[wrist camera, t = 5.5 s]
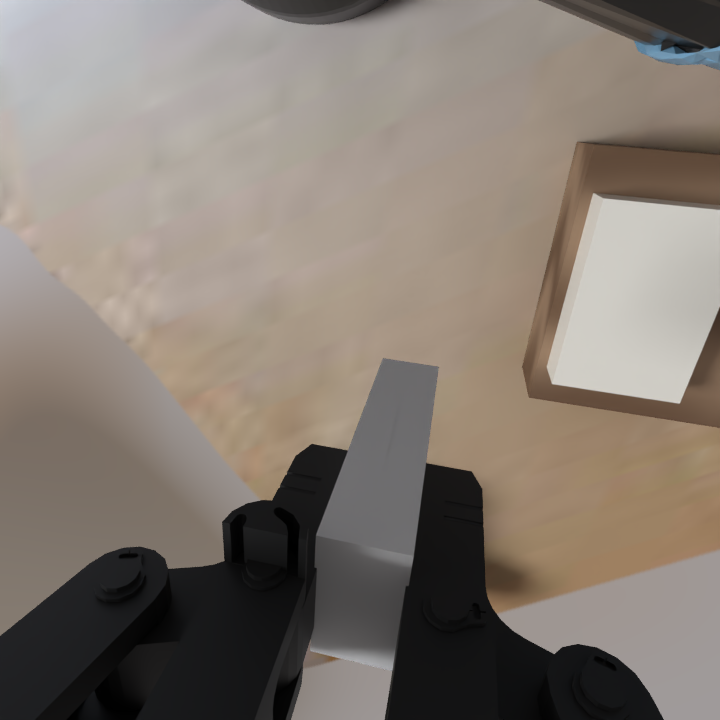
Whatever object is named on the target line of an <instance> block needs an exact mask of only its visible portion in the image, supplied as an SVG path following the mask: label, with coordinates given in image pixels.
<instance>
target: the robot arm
mask: <svg viewBox="0 0 720 720" xmlns="http://www.w3.org/2000/svg"><path fill="white" fill-rule="evenodd" d="M242 1H244V2H245V3H247V4H249V5H251V6H253V7H254V8H256V9H258V10H260V11H262V12H264V13H266V14H268V15H271V16H273V17H276V18H278V19H282V20H285V21H289V22H294V23H301V24H330V23H336V22H341V21H345V20H348V19H352V18H354V17H357V16H360V15H362V14H364V13H367V12H369V11H371V10H373V9H375V8H376V7H378V6H380V5H381V4H383V3H384V2H386V1H387V0H242ZM539 1H542V2H544V3H546V4H549V5H551V6H554V7H556V8H558V9H561V10H563V11H565V12H568V13H570V14H573V15H575V16H577V17H580V18H582V19H584V20H587V21H589V22H591V23H594V24H596V25H599V26H601V27H603V28H606V29H608V30H610V31H613V32H615V33H618V34H620V35H622V36H625V37H627V38H629V39H632V40H634V42H635V44H636V47H637V49H638V51H639V52H641V53H643V54H645V55H648V56H650V57H652V58H654V59H656V60H658V61H660V62H665V63H670V64H676V65H691V64H703V65H706V66H709V67H712V68H715V69H718V70H720V0H539ZM438 368H439V367H437V366H430V365H424V364H417V363H410V362H404V361H397V360H391V359H384V358H383V360H382V362H381V365H380V368H379V370H378V373H377V376H376V378H375V381H374V384H373V386H372V389H371V391H370V394H369V397H368V399H367V402H366V405H365V407H364V410H363V413H362V415H361V418H360V421H359V423H358V426H357V428H356V431H355V434H354V436H353V439H352V442H351V444H350V447H349V450H348V451H347V450H342V449H337V448H331V447H326V446H320V445H315V444H311V445H310V446H309V447H307V448H306V449H304V450H303V451H302V452H300V453H299V454H298V455H296V456H295V458H294V460H293V462H292V464H291V466H290V468H289V470H288V471H287V475H285V477H284V479H283V481H282V483H281V485H280V488H278V490H277V492H276V494H275V496H274V498H273V500H272V501H269V500H261V501H257V502H252V503H247V504H245V505H244V506H241V507H239V508H238V509H236V510H234V511H232V512H231V513H230V514H229V515H228V517H227V518H226V519H225V520H224V521H223V522H222V525H223V540H224V541H223V542H224V559H225V561H224V562H220V563H217V564H215V565H209V566H203V567H192V568H178V569H177V568H176V569H168V568H167V564H166V561H165V559H164V558H163V557H162V556H161V555H160V554H158V553H157V552H156V551H154V550H151V549H147V548H143V547H130V548H122V549H118V550H116V551H112V552H109V553H107V554H104V555H103V556H101V557H100V558H98V559H97V560H95V561H93V562H92V563H90V564H89V565H87V566H86V567H85V568H84V569H82V570H81V571H80V572H79V573H78V574H76V575H75V576H74V577H73V578H71V579H70V580H69V581H68V582H66V583H65V584H64V585H63V586H61V587H60V588H59V589H58V590H57V591H55V592H54V593H53V594H52V595H50V596H49V597H48V598H47V599H45V600H44V601H43V602H42V603H41V604H39V605H38V606H37V607H36V608H35V609H33V610H32V611H31V612H29V613H28V614H27V615H26V616H25V617H23V618H22V619H21V620H19V621H18V622H17V623H16V624H15V625H13V626H12V627H11V628H10V629H8V630H7V631H6V632H5V633H3V634H2V635H1V636H0V720H291V717H292V714H293V711H294V707H295V704H296V700H297V697H298V694H299V690H300V687H301V682H302V673H303V661H304V658H305V655H306V651H307V648H308V645H309V642H310V639H311V648H310V651H313V652H317V653H321V654H325V655H329V656H333V657H337V658H341V659H346V660H350V661H353V662H358V663H362V664H366V665H370V666H374V667H378V668H382V669H386V670H390V671H392V678H391V685H390V691H389V697H388V703H387V709H386V715H385V720H664V719H663V717H662V715H661V714H660V712H659V710H658V708H657V706H656V704H655V702H654V701H653V699H652V697H651V695H650V693H649V692H648V690H647V689H646V688H645V686H644V685H643V684H642V682H641V681H640V679H639V678H638V677H637V675H636V674H635V673H634V672H633V671H632V670H631V669H629V668H628V667H627V666H626V665H625V664H624V663H622V662H621V661H620V660H619V659H618V658H616V657H614V656H612V655H610V654H608V653H607V652H605V651H602V650H600V649H598V648H596V647H590V646H585V645H580V644H576V645H571V646H566V647H562V648H561V649H560V650H559V651H558V652H556V653H555V654H553V653H551V652H549V651H547V650H545V649H543V648H541V647H540V646H538V645H536V644H534V643H532V642H530V641H528V640H526V639H525V638H523V637H522V636H520V635H518V634H517V633H515V632H514V631H512V630H511V629H510V628H509V627H508V626H507V625H506V624H505V623H504V622H503V621H501V619H500V618H499V617H498V615H497V614H496V613H495V611H494V610H493V609H492V606H491V604H490V602H489V600H488V598H487V593H486V587H485V560H484V529H483V511H482V509H483V499H482V488H481V486H480V485H479V483H478V481H477V480H476V478H475V476H474V475H473V473H472V472H471V471H466V470H460V469H455V468H449V467H444V466H438V465H433V464H427V463H426V459H427V451H428V444H429V436H430V429H431V421H432V414H433V406H434V398H435V391H436V383H437V376H438Z"/></svg>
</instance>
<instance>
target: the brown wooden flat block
mask: <svg viewBox="0 0 720 720" xmlns="http://www.w3.org/2000/svg"><path fill="white" fill-rule="evenodd" d="M593 193H600V194H610V195H620V196H630V197H640V198H651V199H661V200H671V201H681V202H691V203H702V204H712V205H720V154H711V153H699V152H688V151H676V150H664V149H652V148H640V147H628V146H616V145H605V144H593V143H581V142H577V144H576V148H575V152H574V156H573V161H572V165H571V169H570V173H569V177H568V181H567V185H566V189H565V193H564V198H563V202H562V206H561V210H560V214H559V218H558V222H557V226H556V230H555V235H554V239H553V243H552V247H551V251H550V255H549V259H548V263H547V267H546V272H545V276H544V280H543V284H542V288H541V292H540V296H539V300H538V304H537V309H536V313H535V317H534V321H533V325H532V329H531V333H530V337H529V341H528V346H527V350H526V354H525V358H524V362H523V366H522V368H523V372H524V377H525V382H526V386H527V391H528V396H529V398H535V399H541V400H548V401H554V402H560V403H567V404H573V405H579V406H586V407H592V408H598V409H604V410H611V411H617V412H623V413H630V414H636V415H642V416H649V417H655V418H661V419H667V420H674V421H680V422H686V423H693V424H699V425H705V426H711V427H718V428H720V308H719V310H718V312H717V315H716V317H715V320H714V322H713V325H712V327H711V329H710V332H709V334H708V337H707V339H706V341H705V344H704V346H703V349H702V351H701V354H700V356H699V358H698V361H697V363H696V366H695V368H694V370H693V373H692V375H691V378H690V380H689V383H688V385H687V387H686V390H685V392H684V395H683V397H682V399H681V402H680V404H678V403H672V402H665V401H659V400H652V399H646V398H639V397H633V396H626V395H620V394H613V393H607V392H601V391H594V390H588V389H581V388H575V387H568V386H562V385H555V384H552V382H551V379H550V376H549V373H548V370H547V364H548V360H549V356H550V353H551V349H552V345H553V341H554V338H555V334H556V330H557V326H558V323H559V319H560V315H561V312H562V308H563V304H564V300H565V297H566V293H567V289H568V285H569V282H570V278H571V274H572V270H573V267H574V263H575V259H576V255H577V252H578V248H579V244H580V240H581V237H582V233H583V229H584V225H585V222H586V218H587V214H588V211H589V207H590V203H591V199H592V196H593Z"/></svg>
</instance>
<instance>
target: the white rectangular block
mask: <svg viewBox="0 0 720 720" xmlns="http://www.w3.org/2000/svg"><path fill="white" fill-rule="evenodd" d="M719 308H720V205H712V204H702V203H691V202H681V201H671V200H661V199H651V198H640V197H630V196H620V195H610V194H600V193H593V196H592V199H591V203H590V207H589V211H588V214H587V218H586V222H585V225H584V229H583V233H582V237H581V240H580V244H579V248H578V252H577V255H576V259H575V263H574V267H573V270H572V274H571V278H570V282H569V285H568V289H567V293H566V297H565V300H564V304H563V308H562V312H561V315H560V319H559V323H558V326H557V330H556V334H555V338H554V341H553V345H552V349H551V353H550V356H549V360H548V364H547V370H548V373H549V376H550V379H551V382H552V384H555V385H562V386H568V387H575V388H581V389H588V390H594V391H601V392H607V393H613V394H620V395H626V396H633V397H639V398H646V399H652V400H659V401H665V402H672V403H678V404H680V402H681V399H682V397H683V395H684V392H685V390H686V387H687V385H688V383H689V380H690V378H691V375H692V373H693V370H694V368H695V366H696V363H697V361H698V358H699V356H700V354H701V351H702V349H703V346H704V344H705V341H706V339H707V337H708V334H709V332H710V329H711V327H712V325H713V322H714V320H715V317H716V315H717V312H718V310H719Z"/></svg>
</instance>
